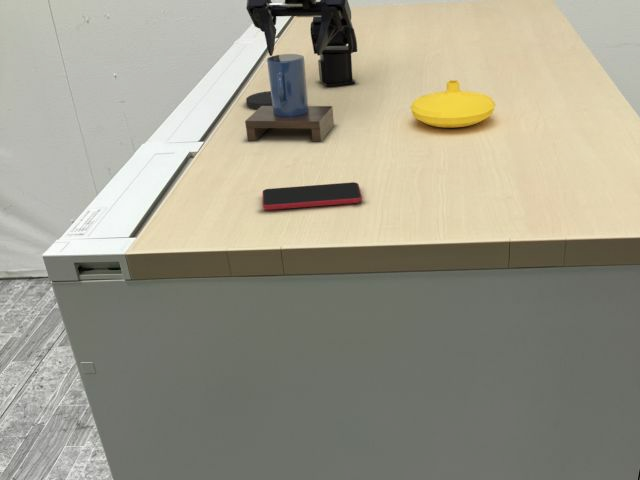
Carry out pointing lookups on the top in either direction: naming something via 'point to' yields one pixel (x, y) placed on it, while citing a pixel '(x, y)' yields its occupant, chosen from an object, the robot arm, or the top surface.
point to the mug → (288, 85)
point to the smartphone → (311, 196)
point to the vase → (452, 107)
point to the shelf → (291, 122)
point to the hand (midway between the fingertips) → (294, 54)
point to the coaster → (259, 100)
